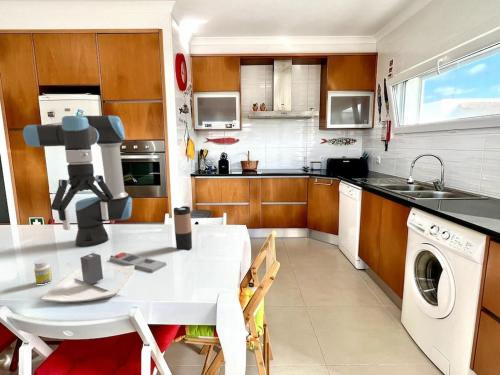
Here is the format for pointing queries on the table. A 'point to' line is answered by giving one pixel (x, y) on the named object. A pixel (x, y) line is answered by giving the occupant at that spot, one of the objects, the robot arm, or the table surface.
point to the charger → (91, 268)
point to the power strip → (138, 262)
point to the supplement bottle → (42, 272)
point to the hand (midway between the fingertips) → (87, 224)
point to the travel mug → (183, 228)
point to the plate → (84, 287)
